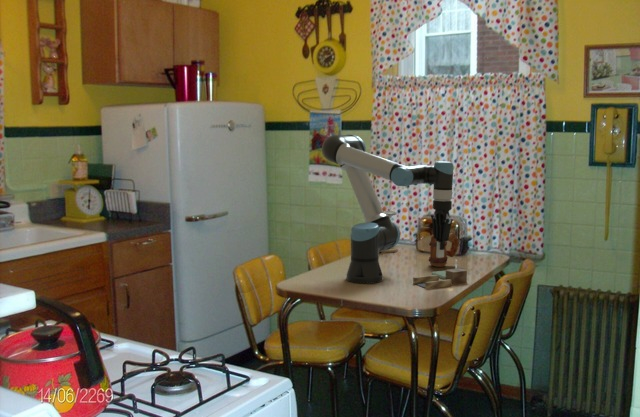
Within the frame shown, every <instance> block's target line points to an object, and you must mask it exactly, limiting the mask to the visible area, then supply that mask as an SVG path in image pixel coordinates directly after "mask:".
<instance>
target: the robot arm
mask: <svg viewBox="0 0 640 417" xmlns="http://www.w3.org/2000/svg"><path fill="white" fill-rule="evenodd" d="M366 149H367V148H366V144H365V142H364V140H363V139H362V138H361V137H360V136H358V135H355V134H340V135H339V134H338V135H336V134H334V135H331V136H328V137H327V138H326V139H324V141H323V143H322V146H321V153H322V155H323V157H324V159H325V160H327V161H328V162H330V163H334V164H337V165H339V166H340V169H341V170H343V171H345V173H346V174H347V176H348V177H347V178H348V180H349V182H350V186H351V187H352V190H353V192H354V195H355V198H356V199H357V203H358V205H359V208H360V210H361V213H362V214H363V218H364V219H365V221H364V222H362V223H361V222H360V223H356V224H354V225H353V226H352V227H351V230H350V262H349V266H348V269H347V272H346V281H348V282H350V283H355V284H356V283H357V284H375V283H376V284H377V283H380V282H382V281H383V277H384V275H383V272H382V269H381V266H380V263H379V258H380V256H379V253H380V251H383V250H388V249H391V248H393V247H394V246H395V247H396V246H397V245H398V244H399V241H400V240H401V231H400V227H399V226H398V224H396V223H394V222H393V221H391V218H389V216H388V215H386V214H384V213H383V211H384V210H383V208H382V205H381V203H380V201H379V199H378V195H377V193H376V190H375V189H374V185H373V183H372V180H371V178H370V175H369V173H370V174H371V175H373V176H377V177H380V178H382V179H385V180H387V181H391V182H392V183H393V185H395V186H398V187H406V186H411V185H419V184H421V185H423V184H425V185H426V184H427V185H433V192H432V194H433V195H432V199H433V201H432V209H433V210H434V214H431V215H430V217H431V222H432V223H431V225H432V235H433V237H434V239H436V241H437V245H436V247H437V250H436V257H438V258H441V257H444V248H445V242H449V241H448V239H449V234H450V233H451V228H452V224H453V222H454V219H453V218H450V211H451V210H452V207H453V203H452V202H453V201H452V199H453V180H454V163H453V162H452V161H442V160H440V161H439V160H437V161H435V162H434V164H433V165H425V164H424V165H422V164H417V163H416V164H410V165H408V166H407V165H404V164H401V163H398V162H396V161H392V160H390V159H386V158H384V157H381V156H378V155H375V154H373V153H369V152H366V151H367V150H366Z"/></svg>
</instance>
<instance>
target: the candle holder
mask: <svg viewBox="0 0 640 417" xmlns="http://www.w3.org/2000/svg"><path fill="white" fill-rule="evenodd" d="M383 213H384V214H386V215H388V216H389V218H390V219H392V216H396V215H397V212H396V211H391V210H383ZM398 250H399V249H398V247H396V246H394V247H393V248H391V249H388V250H383V251H380V252H381V253H383V254H392V253H397V252H398ZM380 252H379V253H380Z"/></svg>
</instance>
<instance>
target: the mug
mask: <svg viewBox="0 0 640 417" xmlns="http://www.w3.org/2000/svg"><path fill="white" fill-rule="evenodd" d="M448 242H450V243H451V247H450V249H448V250H447V245H448ZM428 245H429V246H430V248H429V249H430V252H429V253H430V256H429V258H428V262H429V265H430V266H433V267H436V268H442V267H444V266H446V265H447V262H448V259H449V258H453V257H455V255H456V253H457V252H458V248H459V238H458V236H457V235H456V234H455V233H453V232H450V234H449V239H448V241H446V242H445V248H444V257H441V258H438V257H436V250H437V247H436V245H437V241H436V239H434V237H433V234H432V235H431V238H430V241H429V243H428ZM448 257H449V258H448Z"/></svg>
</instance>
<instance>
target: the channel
mask: <svg viewBox="0 0 640 417" xmlns="http://www.w3.org/2000/svg"><path fill="white" fill-rule="evenodd" d="M439 278H440V277H439V275H432V274H431V275H426V276H425V275H424V276H417V277H416V276H415V277H413V279H412V283H413V284H412V285H416V286H419V287H421V288H423V289H426V290H427V289H436V288H444V287H445V288H446V287H451V286H452V284H451V279H449V280H445V279H442V280H440V279H439Z"/></svg>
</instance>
